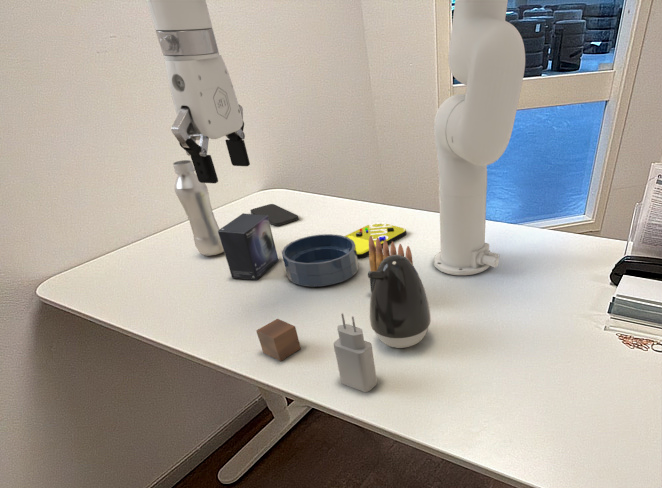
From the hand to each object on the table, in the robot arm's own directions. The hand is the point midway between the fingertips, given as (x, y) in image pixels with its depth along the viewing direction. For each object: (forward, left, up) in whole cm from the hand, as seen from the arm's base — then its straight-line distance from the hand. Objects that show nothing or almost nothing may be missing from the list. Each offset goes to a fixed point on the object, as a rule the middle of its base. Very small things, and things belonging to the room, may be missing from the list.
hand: (225, 173), depth 79 cm
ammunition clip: (-22, -15, -24) cm, 35 cm away
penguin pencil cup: (-32, -5, -24) cm, 40 cm away
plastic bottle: (+29, -9, -24) cm, 39 cm away
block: (-17, +9, -24) cm, 30 cm away
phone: (+36, -33, -24) cm, 55 cm away
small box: (+13, -9, -24) cm, 29 cm away
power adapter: (-34, +8, -24) cm, 42 cm away
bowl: (-1, -16, -24) cm, 29 cm away
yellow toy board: (+2, -34, -24) cm, 42 cm away
